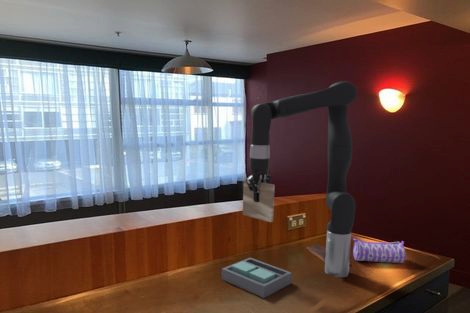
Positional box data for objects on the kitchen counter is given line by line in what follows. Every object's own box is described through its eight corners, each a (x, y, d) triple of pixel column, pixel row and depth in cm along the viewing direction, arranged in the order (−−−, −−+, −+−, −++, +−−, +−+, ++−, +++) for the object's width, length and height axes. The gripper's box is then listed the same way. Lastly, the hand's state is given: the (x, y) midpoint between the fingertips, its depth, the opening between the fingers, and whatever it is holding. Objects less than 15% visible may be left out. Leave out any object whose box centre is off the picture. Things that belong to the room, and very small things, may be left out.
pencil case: (399, 257, 169) (400, 237, 168) (408, 266, 159) (410, 244, 158) (349, 256, 169) (351, 236, 168) (356, 264, 159) (357, 243, 158)
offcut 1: (242, 273, 144) (242, 261, 144) (256, 279, 139) (256, 266, 139) (231, 278, 140) (231, 265, 139) (245, 284, 135) (245, 271, 134)
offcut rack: (249, 269, 151) (250, 257, 150) (291, 286, 137) (291, 272, 137) (221, 282, 139) (221, 268, 139) (263, 301, 126) (264, 286, 125)
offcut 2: (259, 281, 138) (259, 267, 138) (274, 287, 134) (275, 273, 133) (248, 286, 134) (249, 272, 133) (264, 292, 129) (264, 278, 129)
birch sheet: (245, 214, 150) (246, 179, 149) (273, 221, 141) (274, 184, 139) (242, 214, 149) (243, 180, 148) (270, 222, 140) (272, 185, 138)
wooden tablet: (302, 244, 180) (321, 240, 183) (302, 248, 180) (321, 244, 183) (331, 266, 155) (352, 261, 157) (332, 271, 155) (353, 266, 158)
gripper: (255, 158, 135) (254, 206, 137) (278, 156, 145) (276, 200, 147) (240, 157, 140) (239, 202, 142) (263, 154, 150) (261, 197, 152)
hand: (258, 201), depth 144 cm, fingers closed on birch sheet, 1 cm apart
